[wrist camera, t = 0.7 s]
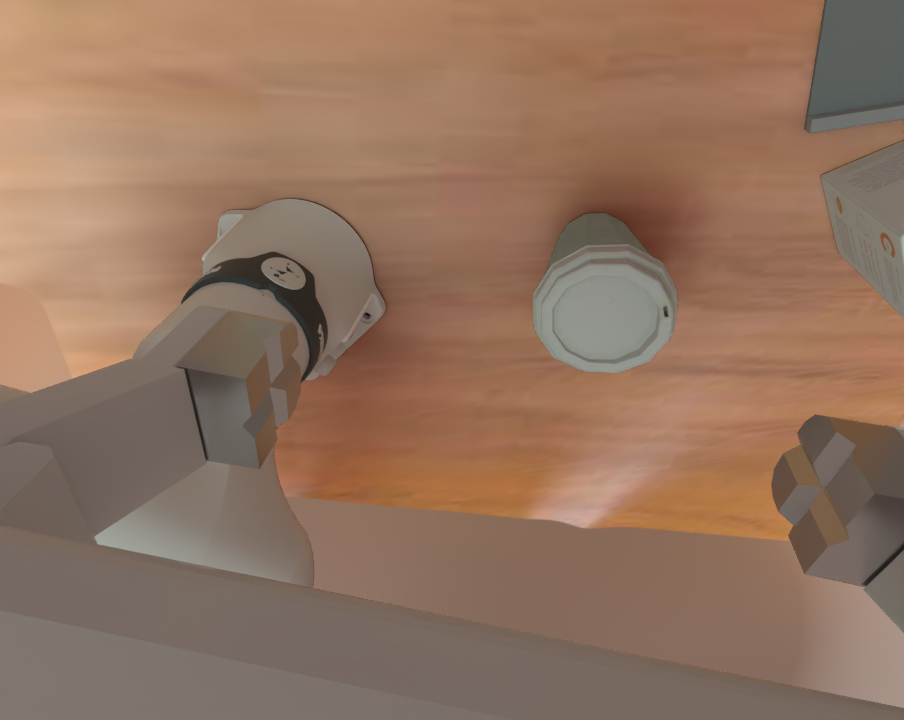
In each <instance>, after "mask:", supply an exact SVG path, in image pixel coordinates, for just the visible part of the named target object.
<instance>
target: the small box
mask: <svg viewBox="0 0 904 720" xmlns="http://www.w3.org/2000/svg"><path fill="white" fill-rule="evenodd" d="M821 181H822V185H823V190H824V194H825V198H826V203H827V207H828V211H829V216H830V220H831V224H832V228H833V232H834V236H835V241H836V244H837V248H838V252H839V254H840V255H841V256H842V257H843V258H844V259H845V260H846V261H847V262H848V263H849V264H850V265H851V266H852V267H853V268H854V269H855V270H856V271H857V272H859V273H860V274H861V275H862V276H863V278H864V279H865V280H866V281H867V282H868V283H869V284H870V285H871V286H872V287H873V288H874V289H875V290H876V291H877V292H878V293H879V294H880V295H881V296H882V297H883V298H884V299H885V300H886V301H887V302H888V303H889V304H890V305H891V306H892V307H893V308H894V309H895V310H896V311H897V312H898V313H899V314H900V315H901V316H902V317H903V318H904V140H902V141H900V142H897V143H895V144H893V145H891V146H888V147H886V148H884V149H881V150H879V151H876V152H874V153H872V154H870V155H867V156H865V157H863V158H860V159H858V160H855V161H853V162H850V163H848V164H846V165H844V166H841V167H839V168H837V169H834V170H832V171H830V172H827V173H825V174H823V175H821Z"/></svg>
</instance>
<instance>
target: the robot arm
mask: <svg viewBox="0 0 904 720" xmlns="http://www.w3.org/2000/svg"><path fill="white" fill-rule="evenodd" d="M202 261H203V262H204V264H203V270H202V275H201V276H200V277H199V278H198V279H197V280H196V281H195V282H194V283H193V285H192V286H191V287H190V289H189V291H188V292H187V293H186V294H185V296H184V298H183V300H182V302H181V305H180V306H179V307H178V308H177V309H176V310H175V311H173V312H172V313H171V314H170V315H169V316H168V317H167V318H166V319H165V320H164V321H163V322H162V323H161V324H159V325H158V326H157V327H156V328H155V329H154V330H153V331H152V332H151V333H150V334H149V335H148V336H147V337H145V338H144V339H143V340H142V342H141V343H140V344H139V346H138V347H137V349H136V351H135V353H134V355H133V358H132V359H129V360H126V361H123V362H120V363H117V364H114V365H111V366H108V367H105V368H103V369H100V370H97V371H94V372H91V373H88V374H85V375H82V376H79V377H76V378H73V379H71V380H68V381H65V382H62V383H59V384H56V385H53V386H50V387H47V388H45V389H41V390H39V391H36V392H33V393H29V392H26V391H22V390H18V389H14V388H11V387H7V386H4V385H0V720H904V708H901V707H896V706H891V705H886V704H881V703H876V702H871V701H866V700H861V699H856V698H851V697H847V696H842V695H837V694H831V693H827V692H822V691H817V690H812V689H807V688H802V687H797V686H792V685H788V684H783V683H778V682H773V681H768V680H763V679H758V678H753V677H748V676H743V675H738V674H734V673H729V672H724V671H719V670H713V669H709V668H704V667H699V666H694V665H689V664H684V663H679V662H674V661H669V660H664V659H659V658H654V657H649V656H645V655H639V654H635V653H630V652H625V651H620V650H615V649H610V648H605V647H600V646H595V645H590V644H585V643H580V642H575V641H570V640H565V639H560V638H555V637H550V636H546V635H541V634H536V633H531V632H526V631H521V630H516V629H511V628H506V627H501V626H496V625H491V624H486V623H481V622H476V621H472V620H467V619H462V618H457V617H452V616H447V615H442V614H437V613H433V612H427V611H423V610H418V609H413V608H408V607H403V606H398V605H393V604H389V603H384V602H379V601H374V600H369V599H364V598H359V597H355V596H350V595H345V594H340V593H335V592H330V591H325V590H320V589H315V588H313V585H314V560H313V553H312V548H311V544H310V541H309V538H308V535H307V533H306V531H305V530H304V529H303V527H302V526H301V524H300V523H299V521H298V520H297V518H296V516H295V515H294V513H293V511H292V510H291V508H290V506H289V504H288V502H287V500H286V497H285V495H284V492H283V490H282V487H281V484H280V481H279V477H278V473H277V469H276V463H275V453H274V444H275V442H276V441H277V432H276V430H277V427H278V426H279V425H280V424H282V423H284V422H286V421H288V420H289V418H290V417H291V415H292V413H293V411H294V409H295V407H296V404H297V400H298V397H299V394H300V387H301V382H303V381H304V380H306V381H312V380H314V379H316V378H317V377H318V376H319V375H321V376H324V377H325V376H326V375H327V374H328V373H329V372H330V371H331V370H332V368H333V367H334V365H335V364H336V362H337V361H336V359H337V358H338V357H339V356H340V355H342V354H343V353H344V352H345V351H346V350H347V349H348V348H349V347H350V346H351V345H352V344H353V343H354V342H355V341H356V340H357V339H358V338H360V337H361V336H362V335H363V334H364V333H365V332H366V331H367V330H368V329H369V328H370V327H371V326H372V325H373V324H374V323H375V322H377V321H378V320H379V319H380V318H381V316H382V315H383V314H384V312H385V310H386V305H385V302H384V300H383V298H382V296H381V294H380V293H379V291H378V289H377V288H376V286H375V282H374V277H373V269H372V264H371V260H370V257H369V254H368V252H367V249H366V247H365V245H364V244H363V242H362V240H361V239H360V237H359V236H358V234H357V233H356V232H355V231H354V230H353V228H352V227H351V226H350V225H349V224H348V223H347V222H345V221H344V220H343V219H342V218H341V217H339V216H338V215H337V214H335V213H334V212H332V211H330V210H329V209H327V208H325V207H323V206H320V205H318V204H315V203H312V202H309V201H304V200H298V199H282V200H276V201H272V202H269V203H267V204H265V205H262V206H260V207H258V208H256V209H253V210H229V211H226V212H224V213H223V215H222V216H221V217H220V218H219V222H218V231H217V241H216V242H215V243H214V244H213V245H212V246H211V247H210V248H209V249H208V250H207V251H206V252H205V253H204V255H203V257H202ZM365 313H369V314H370V316H367V315H366V314H365ZM797 434H798V437H799V441H800V445H799V446H797V447H795V448H793V449H791V450H789V451H787V452H785V453H783V455H782V457H781V458H780V460H779V462H778V463H777V465H776V467H775V468H774V473H773V479H772V484H771V486H772V494H773V499H774V502H775V504H776V507H777V510H778V512H779V513H781V514H782V515H783V516H784V517H785V518H786V519H787V520H788V521H789V522H790V523H791V524H793V527H792V529H791V531H790V533H789V535H788V536H789V539H790V541H791V543H792V546H793V548H794V550H795V553H796V555H797V558H798V560H799V562H800V564H801V567H802V570H803V572H804V574H807V575H811V576H816V577H821V578H825V579H830V580H835V581H839V582H843V583H848V584H853V585H857V586H862V587H865V588H864V591H865V592H866V593H867V594H868V595H869V596H870V597H871V598H872V599H873V601H874V602H875V603H876V604H877V605H878V606H879V607H880V608H881V609H882V610H883V611H884V612H885V613H886V614H887V616H888V617H889V618H891V620H892V621H893V622H894V623H895V624H896V625H897V626H898V627H899V628H900V629H901V631H902V632H903V633H904V428H901V427H895V426H888V425H885V426H882V425H876V424H870V423H864V422H858V421H852V420H846V419H840V418H834V417H828V416H822V415H816V414H815V415H814V416H813V417H811V418H810V419H808V420H807V421H805V423H804V424H803V426H802V427H801V429H800V430H799V431H798V433H797Z"/></svg>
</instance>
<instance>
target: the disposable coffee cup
mask: <svg viewBox="0 0 904 720" xmlns="http://www.w3.org/2000/svg"><path fill="white" fill-rule="evenodd" d="M677 302H678V297H677V291H676V286H675V284H674V282H673V281H672V279H671V277H670V275H669V273H668V271H667V269H666V268H665V266H664V264H663V262H662V261H660V260H658V259H656V258H654V257H652V256H651V255H650V254H649V253H648V252H647V251H646V249H645V248H644V247H643V246H642V244H641V243H640V242H639V241H638V240H637V238H636V237H635V236H634V235H633V233H632V232H631V231H630V230H629V229H628V227H627V226H626V225H625V224H624V222H622V221H621V220H619V219H617V218H615V217H613V216H611V215H609V214H607V213H587V214H584V215H582V216H580V217H578V218H577V219H575V220H573V221H571V222H570V223H568V224H567V226H566V227H565V229H564V230H563V232H562V234H561V235H560V237H559V238H558V240H557V243H556V245H555V248H554V250H553V253H552V255H551V258H550V260H549V263H548V266H547V268H546V271H545V273H544V276H543V278H542V281H541V282H540V284H539V285H538V287H537V289H536V290H535V292H534V293H533V326H534V328H535V333H536V334H537V335H538V337H539V338H540V340H541V341H542V343H543V344H544V345H545V347H546V348H547V350H548V351H549V353H550V354H551V355H552V357H554V358H556V359H558V360H560V361H562V362H564V363H566V364H568V365H570V366H572V367H574V368H577V369H579V370H581V371H585V372H604V373H620V372H622V371H625V370H628V369H631V368H633V367H636V366H639V365H642V364H645V363H647V362H649V361H650V360H651V359H652V358H653V357H654V356H655V355H656V354H657V353H658V352H659V351H660V350H661V349H662V347H663V346H664V345H665V344H666V343H667V342H668V341H669V340H670V338H671V334H672V333H673V332H674V327H675V321H676V314H677V308H678V304H677Z"/></svg>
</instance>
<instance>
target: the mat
mask: <svg viewBox="0 0 904 720" xmlns="http://www.w3.org/2000/svg"><path fill="white" fill-rule="evenodd" d="M901 119H904V0H825V4H824V10H823V16H822V22H821V29H820V35H819V41H818V47H817V53H816V60H815V66H814V72H813V78H812V84H811V91H810V97H809V103H808V109H807V115H806V122H805V128H804V129H805V130H806V131H808V132H809V133H814V132H821V131H828V130H834V129H841V128H847V127H854V126H861V125H867V124H874V123H881V122H887V121H894V120H901Z"/></svg>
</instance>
